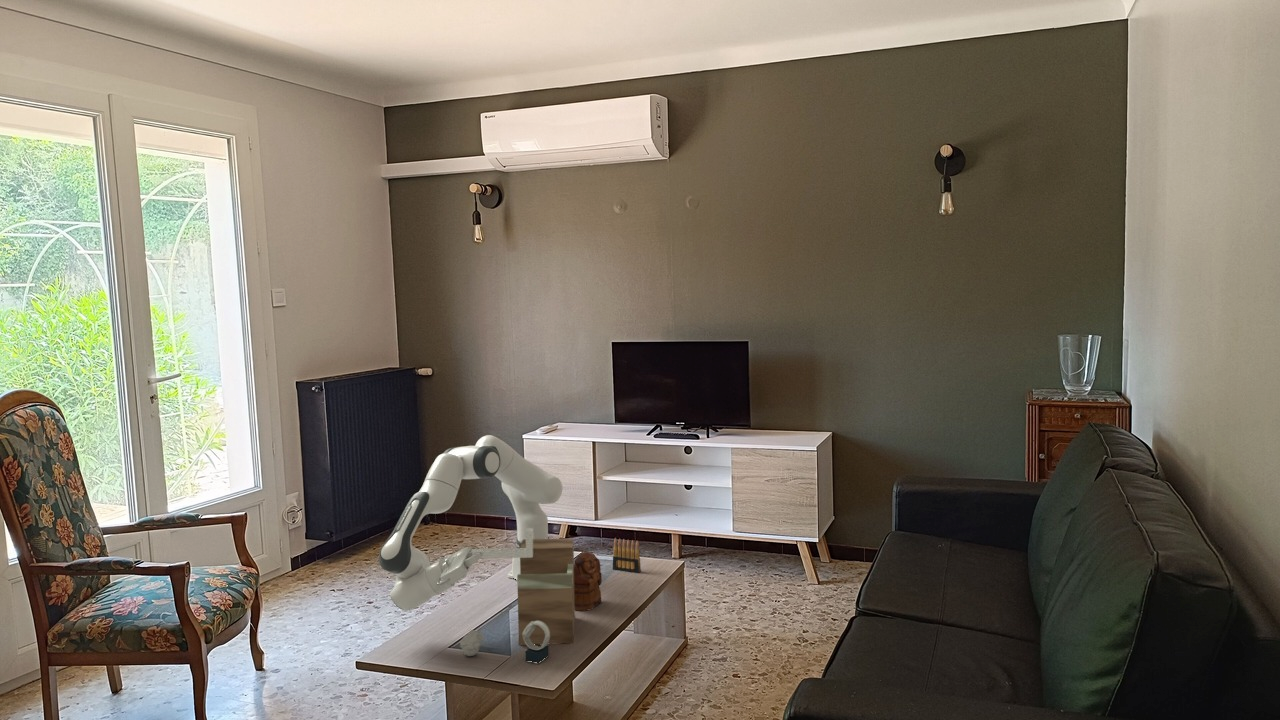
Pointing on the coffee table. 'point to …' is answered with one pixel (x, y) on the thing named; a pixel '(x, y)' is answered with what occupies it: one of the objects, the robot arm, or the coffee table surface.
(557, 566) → the stepped shelf
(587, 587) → the wooden figurine
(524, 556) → the aluminium bracket
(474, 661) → the coffee table surface
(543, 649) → the watch
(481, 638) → the white rough round lump
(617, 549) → the ammunition clip
